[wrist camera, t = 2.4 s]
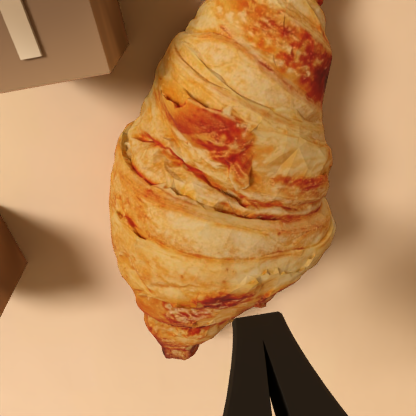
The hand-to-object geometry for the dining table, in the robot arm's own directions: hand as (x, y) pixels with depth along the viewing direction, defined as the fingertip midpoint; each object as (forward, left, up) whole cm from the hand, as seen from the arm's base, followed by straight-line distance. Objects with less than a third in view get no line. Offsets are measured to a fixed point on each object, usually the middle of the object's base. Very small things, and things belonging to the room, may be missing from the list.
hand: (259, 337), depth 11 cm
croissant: (0, 0, -10) cm, 10 cm away
